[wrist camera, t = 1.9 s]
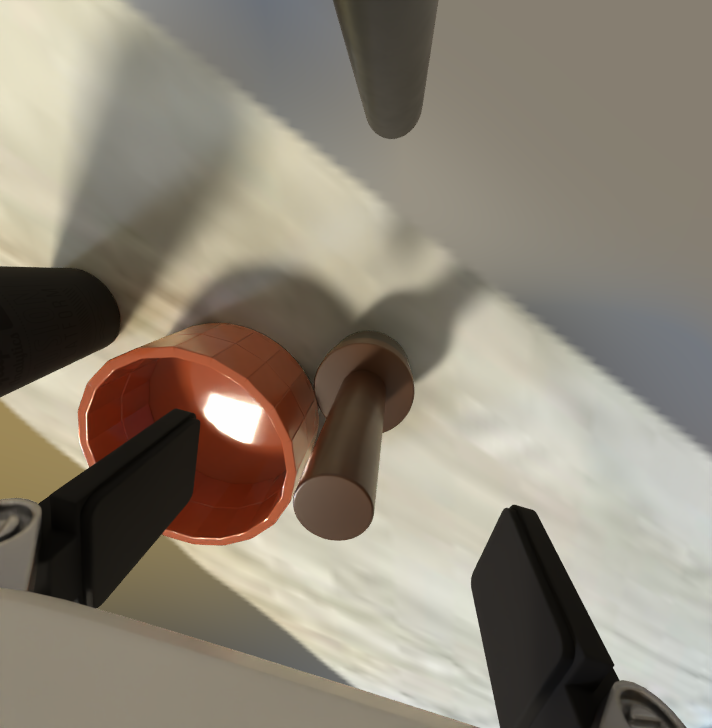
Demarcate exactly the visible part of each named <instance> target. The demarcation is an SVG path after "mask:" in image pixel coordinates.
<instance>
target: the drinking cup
mask: <svg viewBox="0 0 712 728" xmlns="http://www.w3.org/2000/svg"><path fill="white" fill-rule="evenodd" d="M119 326H120V316H119V311H118V307H117V304H116V302H115V300H114V298H113V296H112V294H111V293H110V291H109V290H108V289H107V288H106V286H105V285H104V284H103V283H102V282H101V281H99V280H98V279H97V278H96V277H94V276H92V275H91V274H89V273H87V272H85V271H82V270H78V269H72V268H39V267H2V266H0V397H2V396H4V395H6V394H8V393H10V392H12V391H15V390H17V389H19V388H21V387H23V386H25V385H27V384H29V383H31V382H33V381H35V380H38V379H40V378H42V377H44V376H46V375H48V374H50V373H52V372H54V371H56V370H59V369H61V368H63V367H65V366H67V365H69V364H71V363H73V362H75V361H77V360H79V359H82V358H84V357H86V356H88V355H90V354H92V353H94V352H96V351H98V350H100V349H103V348H105V347H107V346H108V345H109V344H111V343H112V342H113V340H114V339H115V338H116V336H117V334H118V331H119Z"/></svg>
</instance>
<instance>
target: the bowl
mask: <svg viewBox="0 0 712 728" xmlns="http://www.w3.org/2000/svg"><path fill="white" fill-rule="evenodd" d="M175 408H177V409H181V410H184V411H188V412H191V413H194V414H196V419H198V420H200V434H199V443H198V452H197V462H196V471H195V481H194V490H193V494H192V497H191V499H190V501H189V502H188V504H187V505H186V506H185V507H184V508H183V510H182V511H181V512H180V513H179V514H178V515H177V517H176V518H175V519H174V520H173V521H172V522H171V524H170V525H169V526H168V527H167V528H166V530H165V531H164V532H163V533H162V535H164V536H167V537H171V538H174V539H177V540H181V541H184V542H188V543H191V544H199V545H222V546H223V545H228V544H232V543H236V542H240V541H244V540H248V539H251V538H253V537H255V536H257V535H258V534H260V533H261V532H263V531H264V530H266V529H267V528H269V527H270V526H272V525H274V523H276V521H277V520H278V519H279V517H280V516H281V514H282V513H283V511H284V510H285V509H286V507H287V506H288V504H289V503H290V501H291V499H292V497H293V494H294V492H295V490H296V487H297V485H298V483H299V480H300V478H301V476H302V473H303V471H304V469H305V466H306V464H307V462H308V459H309V457H310V455H311V453H312V450H313V446H314V443H315V440H316V436H317V432H318V425H319V412H318V405H317V401H316V398H315V393H314V390H313V388H312V385H311V383H310V381H309V379H308V377H307V376H306V374H305V372H304V370H303V369H302V368H301V366H300V365H299V364H298V362H297V361H296V360H295V359H294V358H293V357H292V356H291V355H290V354H289V353H288V352H287V351H286V350H285V349H284V348H283V347H281V346H280V345H279V344H278V343H276V342H275V341H273V340H272V339H270V338H269V337H267V336H265V335H263V334H261V333H259V332H257V331H255V330H252V329H249V328H246V327H243V326H239V325H235V324H229V323H206V324H201V325H195V326H191V327H189V328H186V329H184V330H181V331H179V332H176V333H174V334H171V335H169V336H166V337H164V338H161V339H159V340H156V341H154V342H151V343H149V344H146V345H144V346H141V347H139V348H136V349H134V350H131V351H129V352H127V353H124V354H122V355H120V356H117V357H115V358H113V359H111V360H109V361H107V362H106V363H105V364H104V365H103V367H102V368H101V369H100V370H99V371H98V372H97V373H96V374H95V375H94V376H93V377H92V378H91V379H90V380H89V382H88V383H87V385H86V388H85V391H84V394H83V397H82V400H81V403H80V406H79V409H78V424H79V440H80V444H81V447H82V449H83V452H84V455H85V457H86V460H87V463H88V465H89V467H91V466H92V465H94V464H95V463H97V462H98V461H100V460H101V459H102V458H104V457H105V456H107V455H108V454H110V453H111V452H112V451H114V450H115V449H117V448H118V447H120V446H121V445H123V444H124V443H125V442H127V441H128V440H130V439H131V438H133V437H134V436H136V435H137V434H138V433H140V432H141V431H143V430H144V429H146V428H147V427H148V426H150V425H151V424H153V423H154V422H156V421H157V420H159V419H160V418H161V417H163V416H164V415H166V414H167V413H169V412H170V411H172V410H173V409H175Z"/></svg>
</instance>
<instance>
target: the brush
mask: <svg viewBox="0 0 712 728" xmlns="http://www.w3.org/2000/svg"><path fill="white" fill-rule="evenodd" d="M314 393H315V398H316V401H317V404H318V406H319V408H320V410H321V411H322V413H323V414H324V416H325V417H326V421H325V423H324V425H323V428H322V430H321V432H320V435H319V437H318V439H317V442H316V444H315V446H314V449H313V451H312V453H311V456H310V458H309V460H308V463H307V465H306V467H305V470H304V472H303V474H302V477H301V479H300V481H299V483H298V486H297V488H296V490H295V493H294V497H293V507H294V511H295V514H296V516H297V518H298V520H299V521H300V523H301V524H302V525H303V526H304V527H305V528H306V529H307V530H308V531H310V532H311V533H313V534H315V535H317V536H319V537H321V538H324V539H328V540H338V541H340V540H348V539H352V538H354V537H357V536H359V535H360V534H362V533H363V532H364V531H365V530H366V529H367V528H368V527H369V525H370V524H371V522H372V520H373V516H374V508H375V499H376V489H377V479H378V469H379V460H380V450H381V440H382V433H384V432H386V431H389V430H390V429H392V428H394V427H395V426H397V425H398V424H399V423H400V422H401V421H402V420H403V419H404V418H405V417H406V415H407V414H408V412H409V411H410V408H411V406H412V403H413V399H414V380H413V374H412V371H411V368H410V366H409V364H408V360H407V357H406V354H405V352H404V350H403V349H402V347H401V346H400V345H399V344H398V343H397V342H396V341H395V340H394V339H392V338H391V337H389V336H387V335H385V334H383V333H380V332H375V331H361V332H357V333H354V334H351V335H349V336H348V337H346V338H345V339H343V340H342V341H341V342H340V343H339V344H338V345H337V346H336V347H334V348H333V349H332V350H331V351H330V352H329V353H328V354H327V355H326V357H325V358H324V360H323V361H322V363H321V364H320V366H319V368H318V370H317V372H316V376H315V381H314Z"/></svg>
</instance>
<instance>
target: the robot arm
mask: <svg viewBox="0 0 712 728" xmlns="http://www.w3.org/2000/svg"><path fill="white" fill-rule="evenodd" d="M199 434H200V420H198V419H196V414H194V413H191V412H188V411H184V410H181V409H177V408H175V409H173V410H172V411H170V412H169V413H167V414H166V415H164V416H163V417H161V418H160V419H159V420H157V421H156V422H154V423H153V424H151V425H150V426H148V427H147V428H146V429H144V430H143V431H141V432H140V433H138V434H137V435H136V436H134V437H133V438H131V439H130V440H128V441H127V442H125V443H124V444H123V445H121V446H120V447H118V448H117V449H115V450H114V451H112V452H111V453H110V454H108V455H107V456H105V457H104V458H102V459H101V460H100V461H98V462H97V463H95V464H94V465H92V466H91V467H89V468H88V469H87V470H85V471H84V472H82V473H81V474H80V475H78V476H77V477H75V478H74V479H72V480H71V481H69V482H68V483H66V484H65V485H63V486H62V487H61V488H59V489H58V490H56V491H55V492H54V493H52V494H51V495H50V496H49V497H47V498H46V499H44V500H43V501H42V502H40V503H39V504H37V503H36V502H33V501H31V500H28V499H21V498H11V499H1V500H0V728H479V727H476V726H473V725H469V724H466V723H463V722H460V721H457V720H454V719H451V718H448V717H444V716H441V715H438V714H435V713H432V712H429V711H426V710H423V709H420V708H416V707H413V706H410V705H407V704H404V703H401V702H398V701H395V700H391V699H388V698H385V697H382V696H379V695H376V694H373V693H370V692H366V691H363V690H360V689H357V688H354V687H350V686H347V685H344V684H341V683H338V682H335V681H331V680H328V679H325V678H322V677H319V676H315V675H312V674H309V673H306V672H303V671H299V670H296V669H293V668H290V667H287V666H283V665H280V664H277V663H274V662H271V661H268V660H264V659H261V658H258V657H255V656H252V655H248V654H245V653H242V652H239V651H235V650H232V649H229V648H226V647H222V646H219V645H216V644H212V643H209V642H206V641H203V640H199V639H196V638H193V637H190V636H186V635H183V634H180V633H177V632H173V631H170V630H167V629H164V628H160V627H157V626H154V625H151V624H147V623H144V622H141V621H138V620H134V619H130V618H127V617H124V616H120V615H117V614H113V613H110V612H106V611H103V610H99V609H96V608H98V607H99V606H101V605H102V603H104V601H105V600H106V599H107V598H108V597H109V596H110V594H111V593H112V592H113V591H114V590H115V588H116V587H117V586H118V585H119V584H120V583H121V581H122V580H123V579H124V578H125V577H126V575H127V574H128V573H129V572H130V571H131V570H132V568H133V567H134V566H135V565H136V564H137V563H138V561H139V560H140V559H141V558H142V557H143V556H144V554H145V553H146V552H147V551H148V550H149V548H150V547H151V546H152V545H153V544H154V542H155V541H156V540H157V539H158V538H159V536H160V535H161V534H162V533H163V532H164V531H165V530H166V528H167V527H168V526H169V525H170V524H171V522H172V521H173V520H174V519H175V518H176V517H177V515H178V514H179V513H180V512H181V511H182V510H183V508H184V507H185V506H186V505H187V504H188V502H189V501H190V499H191V497H192V494H193V490H194V481H195V471H196V462H197V452H198V443H199ZM471 588H472V593H473V598H474V603H475V608H476V613H477V617H478V622H479V627H480V632H481V637H482V642H483V647H484V651H485V656H486V661H487V666H488V671H489V676H490V681H491V685H492V690H493V695H494V700H495V705H496V710H497V714H498V719H499V724H500V728H686V726H685V725H684V724H683V723H682V722H681V720H680V719H679V718H678V717H677V716H676V714H675V713H674V712H673V711H672V710H671V709H670V708H669V707H668V706H667V705H666V704H665V703H664V702H662V701H661V700H660V699H659V698H658V697H657V696H655V695H654V694H652V693H651V692H650V691H648V690H647V689H646V688H644V687H642V686H640V685H638V684H636V683H634V682H629V681H625V680H622V681H619V679H618V677H617V675H616V673H615V671H614V669H613V667H614V663H613V661H612V659H611V657H610V655H609V654H608V652H607V650H606V648H605V646H604V644H603V642H602V640H601V638H600V636H599V634H598V632H597V630H596V628H595V626H594V624H593V622H592V620H591V618H590V616H589V615H588V613H587V611H586V609H585V607H584V605H583V603H582V601H581V599H580V597H579V595H578V593H577V591H576V589H575V587H574V585H573V583H572V581H571V579H570V577H569V576H568V574H567V572H566V570H565V568H564V566H563V564H562V562H561V560H560V558H559V556H558V554H557V552H556V550H555V548H554V546H553V544H552V542H551V540H550V538H549V537H548V535H547V533H546V531H545V529H544V527H543V525H542V523H541V521H540V519H539V517H538V515H537V513H536V512H535V511H534V510H531V509H528V508H524V507H521V506H517V505H512V506H511V507H510V508H505V509H504V510H503V511H502V513H501V515H500V518H499V520H498V522H497V524H496V526H495V528H494V530H493V532H492V534H491V536H490V538H489V540H488V542H487V545H486V547H485V549H484V551H483V553H482V555H481V557H480V559H479V561H478V563H477V565H476V567H475V569H474V571H473V574H472V578H471Z"/></svg>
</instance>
